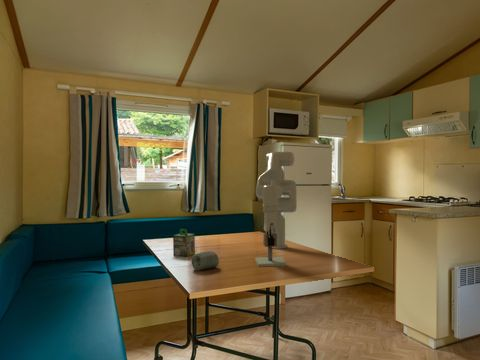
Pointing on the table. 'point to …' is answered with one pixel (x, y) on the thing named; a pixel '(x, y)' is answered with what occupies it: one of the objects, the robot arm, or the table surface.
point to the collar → (267, 240)
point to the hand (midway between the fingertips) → (270, 244)
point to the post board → (270, 260)
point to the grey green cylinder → (204, 260)
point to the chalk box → (184, 244)
